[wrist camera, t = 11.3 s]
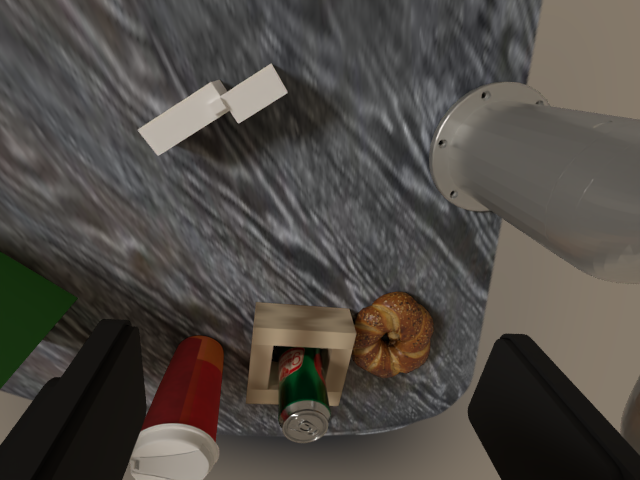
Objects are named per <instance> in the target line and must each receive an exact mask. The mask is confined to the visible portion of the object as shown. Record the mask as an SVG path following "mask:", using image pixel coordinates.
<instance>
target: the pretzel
mask: <svg viewBox="0 0 640 480" xmlns="http://www.w3.org/2000/svg"><path fill="white" fill-rule="evenodd" d="M433 325H434V324H433V319H432V317H431V315H430V314H429V312H428V311H427V310H426V309H425V308H424V307H423V306H422V305H420V304H418V303H417V302H416V301H415V300H414V299H413V298H412V297H411V296H409V295H408V294H406V293H403V292H392V293H388V294H385V295H383V296H381V297H379V298H378V299H377V300H375V302H374V303H373V304H372V306H369V307H366V308H363V309H362V310H361V311H360V312H359V313H358V315H357V317H356V320H355V325H354V327H355V330H356V333H357V334H356V338H355V342H354V346H353V350H352V354H351V355H352V358H353V361H354V362H355V363H356V365H358V366H360V367H361V368H363V369H365V370H367V371H368V372H370V373H372V374H374V375H376V376H378V377H382V378H388V377H393V376H395V375H397V374H398V373H399V372H404V373H409V372H411V371H413V370H415V369H417V368H419V367H420V366H421V365H422V364H424V363H425V361H426V360H427V358H428V356H429V353H430V339H431V336H432V333H433V330H434V329H433ZM384 334H386V335H387V337H388V338H390V339H389V340H388V342H386V341H383V340H382V339H381V337H383V335H384Z"/></svg>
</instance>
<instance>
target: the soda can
mask: <svg viewBox="0 0 640 480" xmlns="http://www.w3.org/2000/svg"><path fill="white" fill-rule="evenodd" d="M330 418H331V413H330V406H329V400H328V393H327V386H326V380H325V373H324V367H323V360H322V354H321V348H311V347H292V346H278V421H279V425H280V426H281V428H282V430H283V433H284V435H285V437H286V438H288V439H289V440H291V441H293V442H297V443H309V442H313V441H315V440H317V439H319V438H321V437H322V436H323V435H324V434H325V433H326V431H327V429H328V423H329V421H330Z"/></svg>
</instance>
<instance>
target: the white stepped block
mask: <svg viewBox="0 0 640 480" xmlns="http://www.w3.org/2000/svg"><path fill="white" fill-rule="evenodd" d="M287 93H288V92H287V90H286V88H285V86H284V85H283V83H282V81H281V79H280V77H279V76H278V74H277V72H276V70H275V69H274V67H273V65H272V64H270V65H268V66H267V67H265V68H264V69H262V70H260V71H259V72H257V73H256V74H254V75H253V76H251V77H249V78H248V79H246V80H245V81H243V82H242V83H240V84H239V85H237V86H235V87H234V88H232V89H231V90H229V91H228V92H227V90H226V89H225V87H224V85H223V84H222V82H221V81H220V80H217V81H213V82H210V83H209V84H207V85H206V86H204V87H203V88H201V89H200V90H198V91H196V92H195V93H193V94H192V95H190V96H189V97H187V98H186V99H184V100H183V101H181V102H180V103H178V104H176V105H175V106H173V107H172V108H170V109H169V110H167V111H166V112H164V113H163V114H161V115H160V116H158V117H156V118H155V119H153V120H152V121H150V122H149V123H147V124H146V125H144V126H143V127H141V128H140V129H138V131H139V133H140V134H141V135H142V136H143V138H144V139H145V140H146V141H147V143H148V144H149V145H150V147H151V148H152V149H153V150H154V152H155V153H156V154H157V156H159V155H160V154H162V153H164V152H165V151H167V150H168V149H170V148H171V147H173V146H175V145H176V144H178V143H179V142H181V141H182V140H184V139H186V138H187V137H189V136H190V135H192V134H194V133H195V132H197V131H198V130H200V129H201V128H203V127H205V126H206V125H208V124H209V123H211V122H212V121H214V120H216V119H217V118H219V117H220V116H222V115H224V114H225V113H227V112H228V111H230V112H231V113H232V115H233V117H234V118H235V120H236V121H237V123H238V124H239V123H240V122H242V121H244V120H245V119H247V118H248V117H250V116H252V115H253V114H255V113H256V112H258V111H260V110H261V109H263V108H264V107H266V106H268V105H269V104H271V103H272V102H274V101H276V100H277V99H279V98H280V97H282V96H284V95H285V94H287Z"/></svg>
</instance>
